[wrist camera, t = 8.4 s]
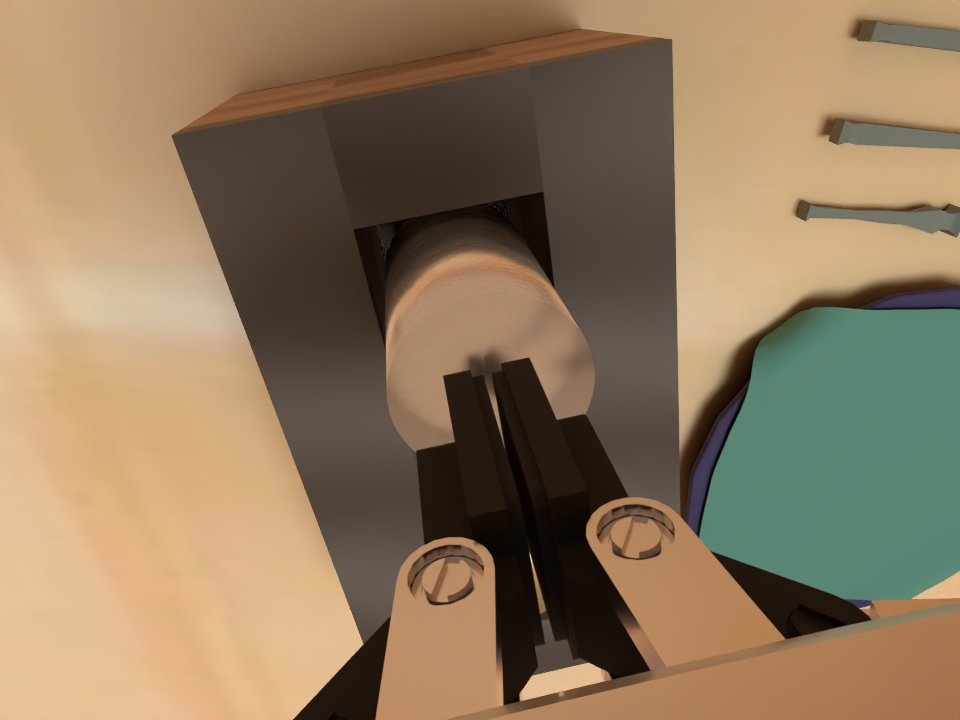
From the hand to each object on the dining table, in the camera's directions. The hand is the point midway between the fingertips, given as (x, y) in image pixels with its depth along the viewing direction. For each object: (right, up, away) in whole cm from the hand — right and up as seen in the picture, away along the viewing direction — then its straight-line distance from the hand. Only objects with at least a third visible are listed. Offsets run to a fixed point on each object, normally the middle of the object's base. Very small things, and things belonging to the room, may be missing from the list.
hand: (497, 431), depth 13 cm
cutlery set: (+20, +1, +20) cm, 28 cm away
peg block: (-1, +2, +15) cm, 15 cm away
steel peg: (-1, +4, +8) cm, 9 cm away
